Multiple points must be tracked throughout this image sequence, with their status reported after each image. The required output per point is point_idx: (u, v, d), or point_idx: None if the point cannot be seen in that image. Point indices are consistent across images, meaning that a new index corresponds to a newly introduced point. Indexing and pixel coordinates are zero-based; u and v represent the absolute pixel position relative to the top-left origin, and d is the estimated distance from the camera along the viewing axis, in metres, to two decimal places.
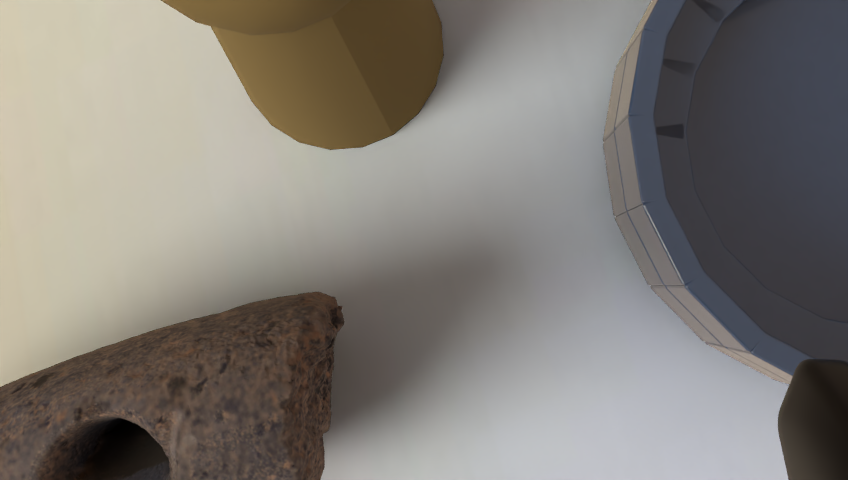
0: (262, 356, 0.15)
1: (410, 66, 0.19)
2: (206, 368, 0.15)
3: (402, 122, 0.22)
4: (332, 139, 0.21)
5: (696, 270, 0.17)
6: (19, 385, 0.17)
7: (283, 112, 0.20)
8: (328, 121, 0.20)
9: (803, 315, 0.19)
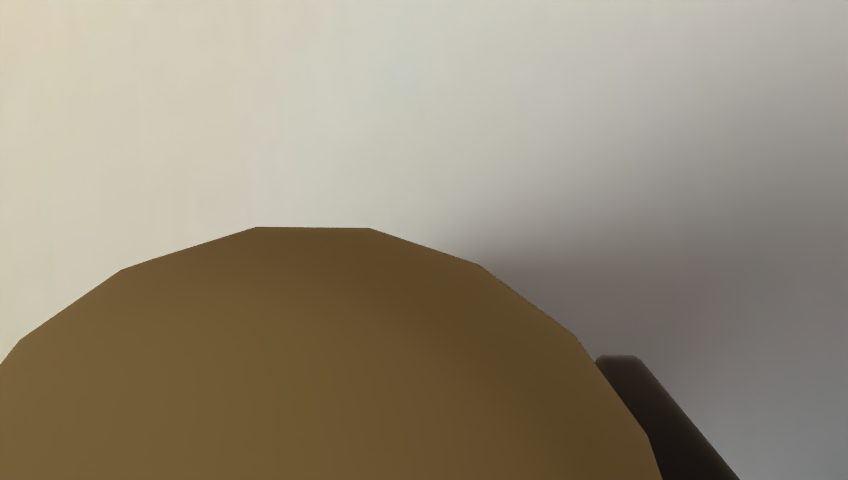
0: None
1: None
2: None
3: None
4: None
5: None
6: None
7: None
8: None
9: None
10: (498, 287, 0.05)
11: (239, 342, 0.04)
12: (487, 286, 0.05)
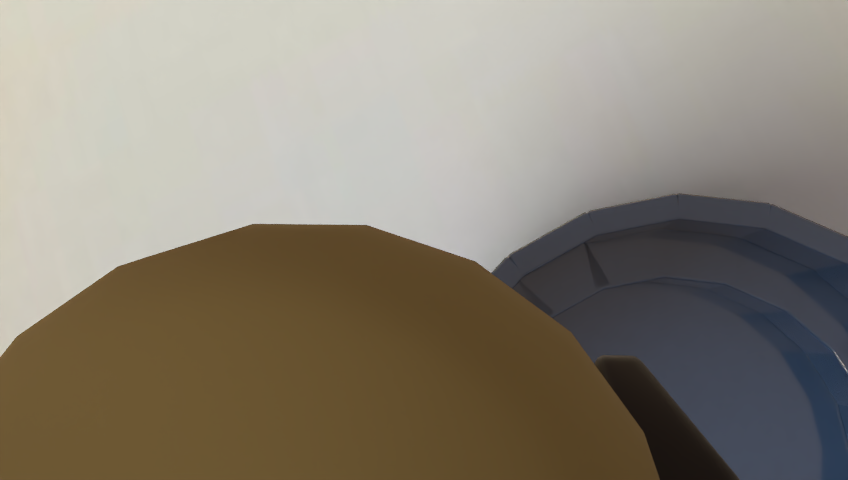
0: None
1: None
2: None
3: None
4: None
5: None
6: None
7: None
8: None
9: None
10: (495, 283, 0.05)
11: (235, 338, 0.04)
12: (483, 282, 0.05)
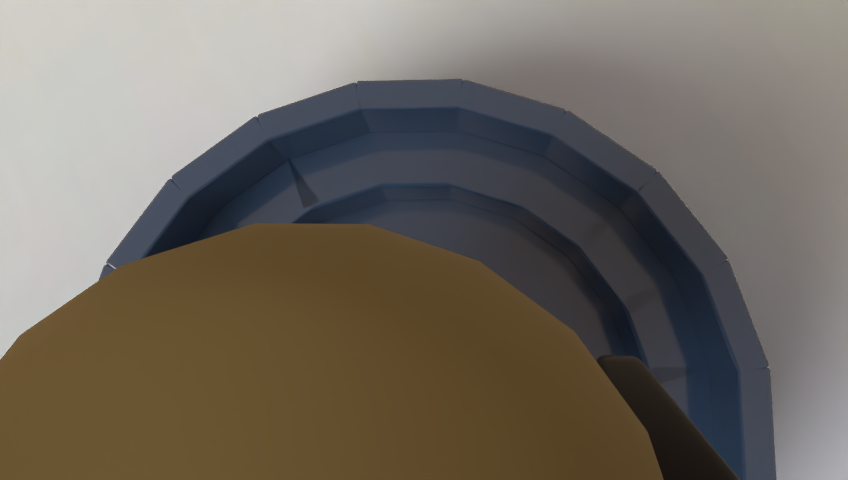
0: None
1: None
2: None
3: None
4: None
5: None
6: None
7: None
8: None
9: None
10: (498, 283, 0.05)
11: (239, 338, 0.04)
12: (487, 282, 0.05)
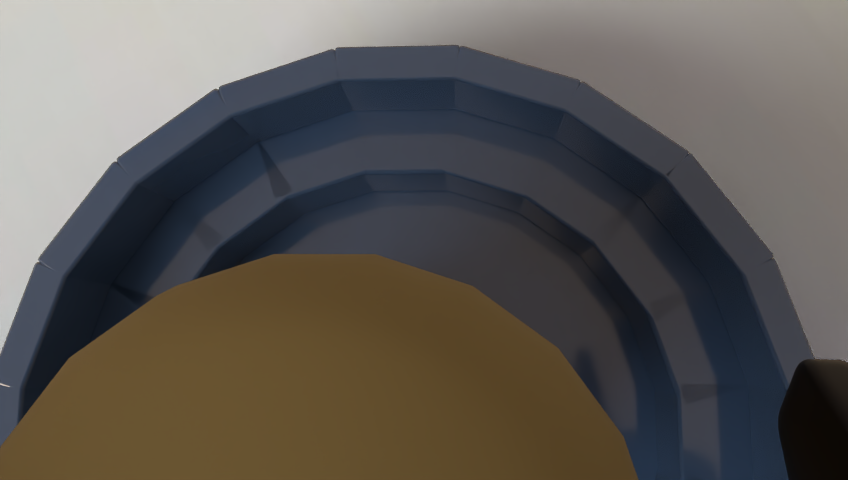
0: None
1: None
2: None
3: None
4: None
5: None
6: None
7: None
8: None
9: None
10: (489, 307, 0.06)
11: (266, 360, 0.05)
12: (479, 307, 0.05)
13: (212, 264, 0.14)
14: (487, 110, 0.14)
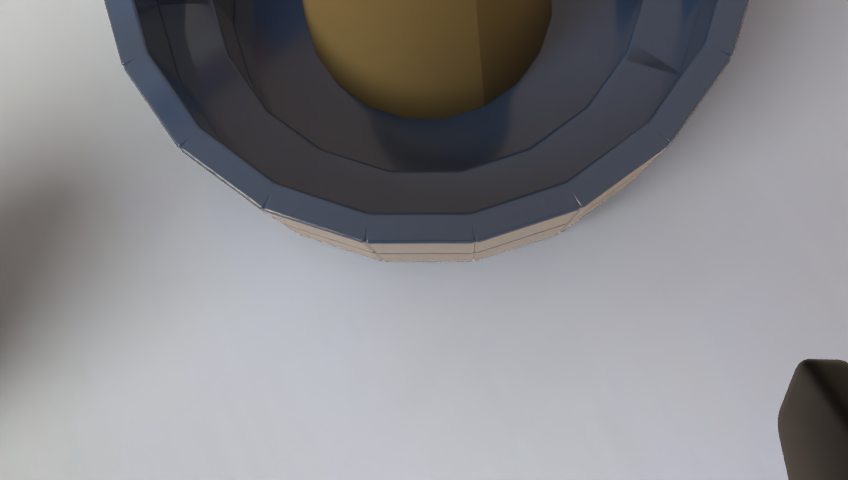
0: None
1: (526, 10, 0.16)
2: None
3: (498, 91, 0.18)
4: (413, 102, 0.17)
5: (190, 128, 0.15)
6: None
7: (362, 57, 0.16)
8: (417, 73, 0.16)
9: (363, 171, 0.16)
10: None
11: None
12: None
13: None
14: None
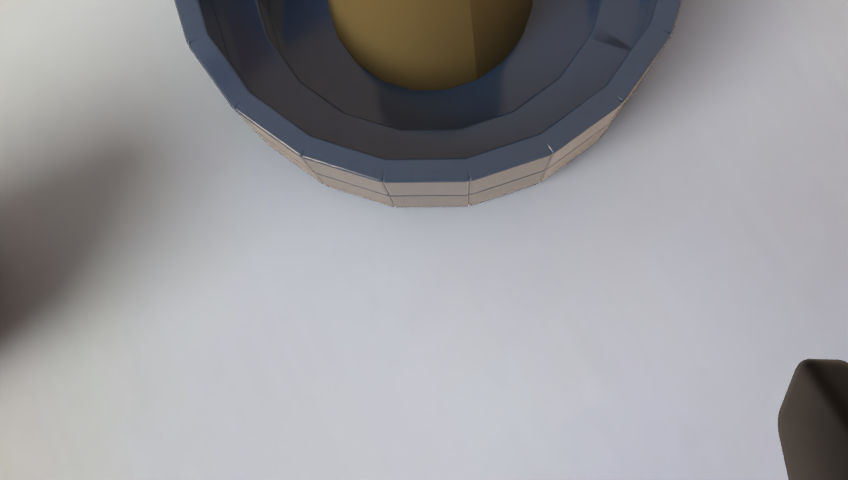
0: None
1: None
2: None
3: (488, 67, 0.22)
4: (419, 76, 0.21)
5: (242, 93, 0.19)
6: None
7: (378, 37, 0.20)
8: (422, 49, 0.20)
9: (379, 129, 0.20)
10: None
11: None
12: None
13: None
14: None
